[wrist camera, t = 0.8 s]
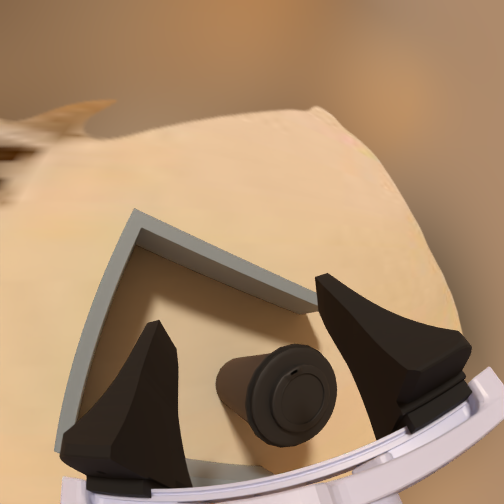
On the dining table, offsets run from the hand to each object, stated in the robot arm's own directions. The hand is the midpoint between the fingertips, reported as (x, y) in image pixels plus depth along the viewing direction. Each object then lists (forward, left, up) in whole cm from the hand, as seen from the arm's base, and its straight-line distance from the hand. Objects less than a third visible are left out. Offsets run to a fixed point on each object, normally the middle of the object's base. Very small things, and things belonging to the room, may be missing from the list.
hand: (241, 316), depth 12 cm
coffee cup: (-3, -8, -14) cm, 17 cm away
